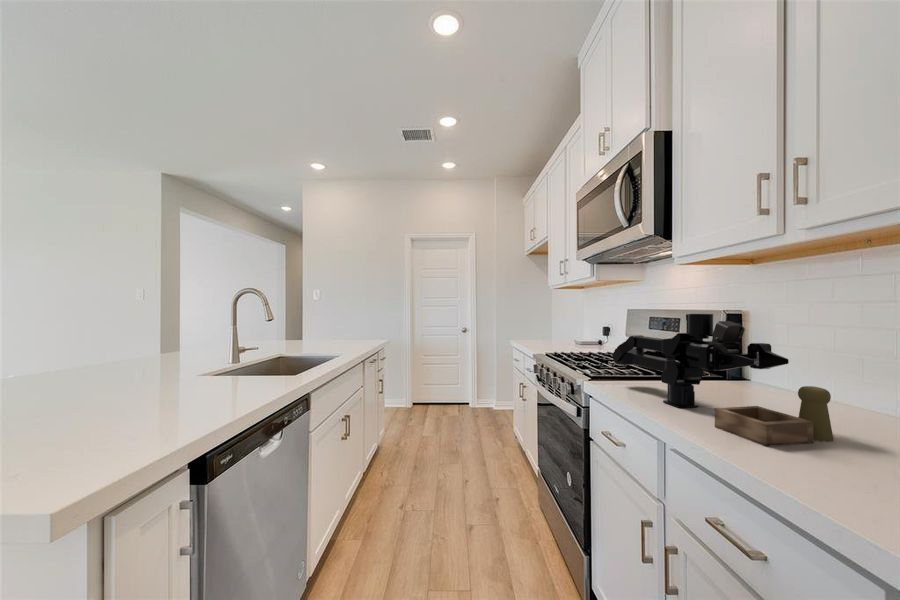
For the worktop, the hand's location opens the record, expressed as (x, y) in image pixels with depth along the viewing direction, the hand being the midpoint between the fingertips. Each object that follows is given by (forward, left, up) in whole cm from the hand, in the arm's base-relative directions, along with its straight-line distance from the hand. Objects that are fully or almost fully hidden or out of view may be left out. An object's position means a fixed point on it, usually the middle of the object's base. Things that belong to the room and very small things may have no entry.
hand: (771, 361), depth 82 cm
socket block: (-1, -1, -16) cm, 17 cm away
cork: (+2, +9, -17) cm, 19 cm away
